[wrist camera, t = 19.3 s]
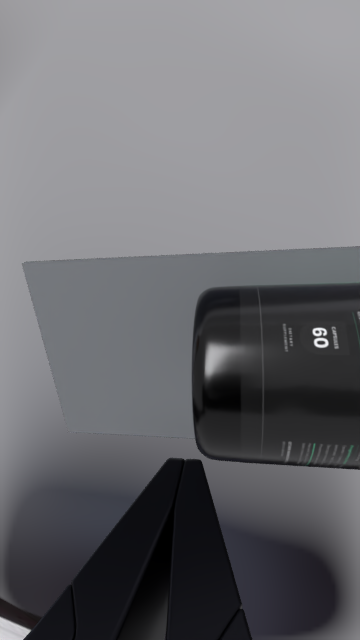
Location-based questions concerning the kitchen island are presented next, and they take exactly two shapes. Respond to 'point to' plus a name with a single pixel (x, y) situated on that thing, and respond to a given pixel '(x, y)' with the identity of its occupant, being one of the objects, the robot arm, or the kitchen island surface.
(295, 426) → the supplement bottle
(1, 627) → the kitchen island surface
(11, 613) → the kitchen island surface
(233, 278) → the rubber mat
